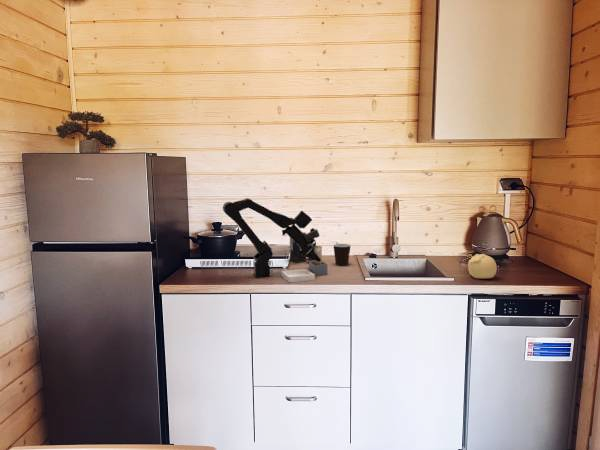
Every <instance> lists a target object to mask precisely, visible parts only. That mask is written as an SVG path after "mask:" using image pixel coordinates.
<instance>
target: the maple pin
mask: <svg viewBox="0 0 600 450" xmlns="http://www.w3.org/2000/svg"><path fill="white" fill-rule="evenodd" d="M322 248H323V247H322V245H316V246H314V251H315V252H316V254H317V255H318V256H319V258H320V259H321V261H320V262H318V261H316V260H314V261H313V262H314V265H318V264H322V261H323V249H322Z"/></svg>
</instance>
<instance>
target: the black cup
mask: <svg viewBox="0 0 600 450" xmlns="http://www.w3.org/2000/svg"><path fill="white" fill-rule="evenodd" d="M350 252H351V244H350V243H335V244H333V253H334V261H335V262H334V263H335V266H338V267H346V266H347V267H348V266H349V263H350V262H349V261H350V254H351V253H350Z"/></svg>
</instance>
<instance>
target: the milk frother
mask: <svg viewBox="0 0 600 450" xmlns="http://www.w3.org/2000/svg"><path fill="white" fill-rule="evenodd" d="M289 260H290V261H289V262H291V263H304V262H307V261H309V262H314V260H313V259H311V258H308V257H305V256H304V257H303V256H302V255H301V249H300V247H299V246H298V245H297V244H295V243H294V241H293V240H292V239H291V238H290V237H289Z"/></svg>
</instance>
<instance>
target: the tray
mask: <svg viewBox="0 0 600 450" xmlns="http://www.w3.org/2000/svg"><path fill="white" fill-rule="evenodd" d="M280 274H281V278H282V279H284V280H286V281H287V282H288V283H298V282H299V283H300V282H310V281H315V280H316V276H315V275H314V274H313V273H312V272H310V271H309V269H307V268H298V269H287V270H281V273H280Z"/></svg>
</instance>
